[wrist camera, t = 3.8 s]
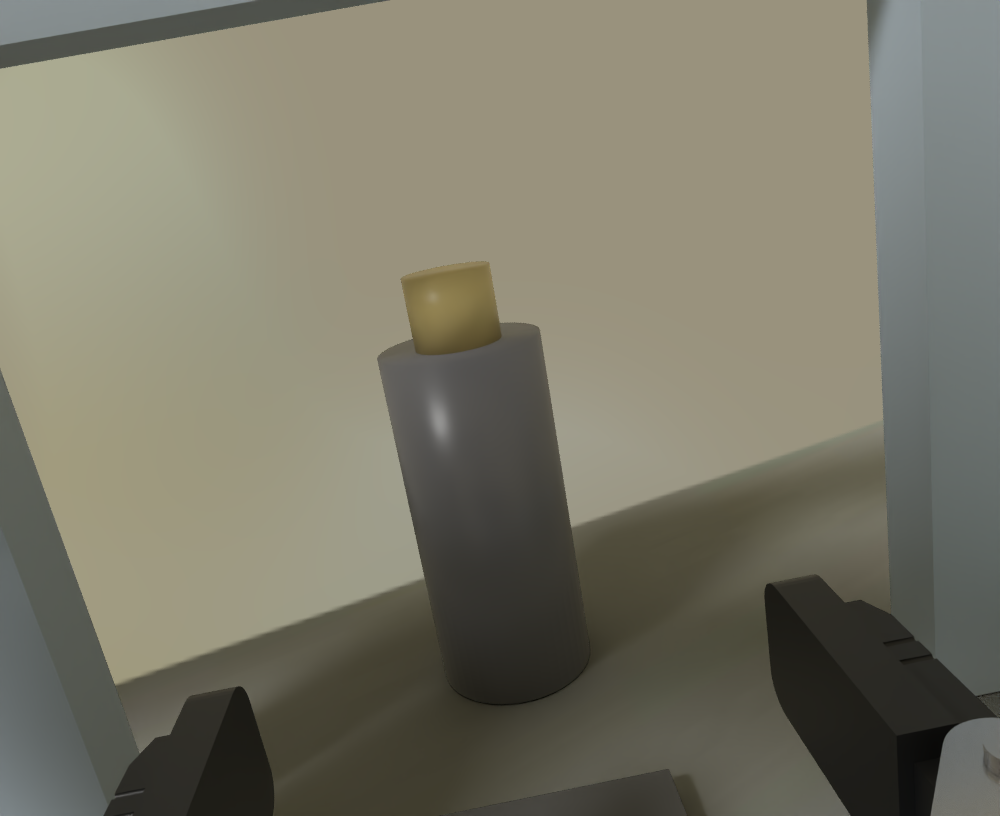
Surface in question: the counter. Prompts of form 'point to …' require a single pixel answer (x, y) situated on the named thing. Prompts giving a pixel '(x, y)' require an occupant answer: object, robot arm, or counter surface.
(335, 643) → the counter surface
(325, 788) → the counter surface
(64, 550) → the rectangular arch frame
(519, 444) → the bottle
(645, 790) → the mat
